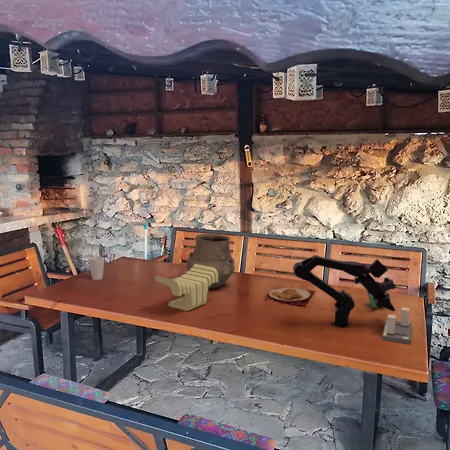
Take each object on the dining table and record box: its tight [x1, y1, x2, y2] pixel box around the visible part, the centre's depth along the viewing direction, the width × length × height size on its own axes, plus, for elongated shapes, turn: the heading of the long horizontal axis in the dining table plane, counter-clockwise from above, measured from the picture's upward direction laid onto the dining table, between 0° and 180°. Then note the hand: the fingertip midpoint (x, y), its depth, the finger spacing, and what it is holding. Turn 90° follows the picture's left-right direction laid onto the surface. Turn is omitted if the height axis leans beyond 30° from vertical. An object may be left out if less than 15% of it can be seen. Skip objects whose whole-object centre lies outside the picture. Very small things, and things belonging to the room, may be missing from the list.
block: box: [387, 313, 397, 334], centre depth 196 cm, size 3×4×7 cm
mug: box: [367, 290, 388, 309], centre depth 232 cm, size 15×10×10 cm
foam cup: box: [88, 255, 105, 281], centre depth 284 cm, size 10×9×13 cm
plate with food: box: [264, 287, 316, 307], centre depth 251 cm, size 25×26×4 cm
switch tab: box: [400, 307, 410, 326], centre depth 205 cm, size 3×4×7 cm
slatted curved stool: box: [155, 264, 218, 312], centre depth 235 cm, size 30×16×18 cm, turn 143°
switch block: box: [381, 318, 412, 345], centre depth 201 cm, size 11×21×2 cm, turn 157°
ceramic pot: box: [186, 233, 236, 290], centre depth 268 cm, size 28×28×30 cm
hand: (394, 310), depth 206 cm, fingers closed
